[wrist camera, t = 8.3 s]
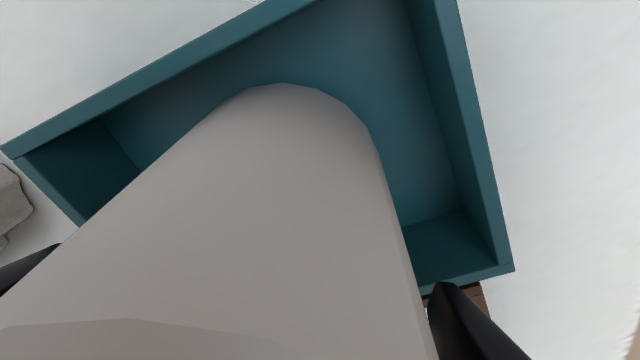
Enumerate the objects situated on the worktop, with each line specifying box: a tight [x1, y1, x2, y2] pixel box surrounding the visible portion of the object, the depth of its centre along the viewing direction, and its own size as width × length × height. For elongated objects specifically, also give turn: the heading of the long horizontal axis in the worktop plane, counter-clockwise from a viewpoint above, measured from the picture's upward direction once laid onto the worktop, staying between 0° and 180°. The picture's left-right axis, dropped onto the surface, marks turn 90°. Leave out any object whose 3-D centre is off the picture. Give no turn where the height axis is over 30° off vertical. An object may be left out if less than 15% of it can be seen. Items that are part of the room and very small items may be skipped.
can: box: [0, 82, 439, 360], centre depth 8 cm, size 8×8×12 cm
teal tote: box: [0, 0, 515, 296], centre depth 12 cm, size 11×13×4 cm
